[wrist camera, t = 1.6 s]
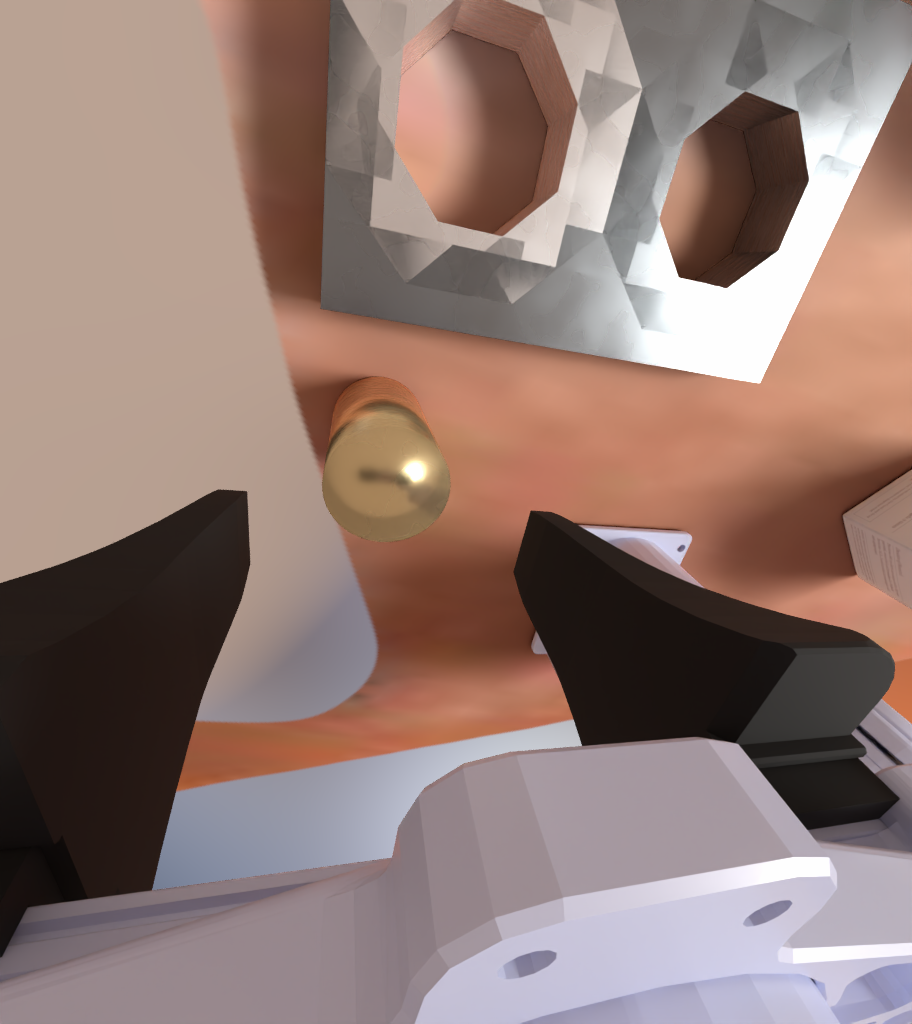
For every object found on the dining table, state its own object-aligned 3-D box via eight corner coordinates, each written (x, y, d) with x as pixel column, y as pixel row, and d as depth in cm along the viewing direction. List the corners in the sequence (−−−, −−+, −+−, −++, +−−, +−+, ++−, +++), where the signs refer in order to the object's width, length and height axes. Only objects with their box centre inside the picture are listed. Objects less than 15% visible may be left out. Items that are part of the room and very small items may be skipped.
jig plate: (720, 372, 22) (759, 383, 20) (325, 303, 17) (320, 308, 15) (859, 49, 17) (933, 16, 15) (342, -180, 12) (339, -279, 10)
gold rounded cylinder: (416, 466, 21) (439, 544, 15) (330, 459, 20) (319, 539, 14) (428, 383, 20) (460, 434, 14) (335, 370, 19) (324, 419, 13)
